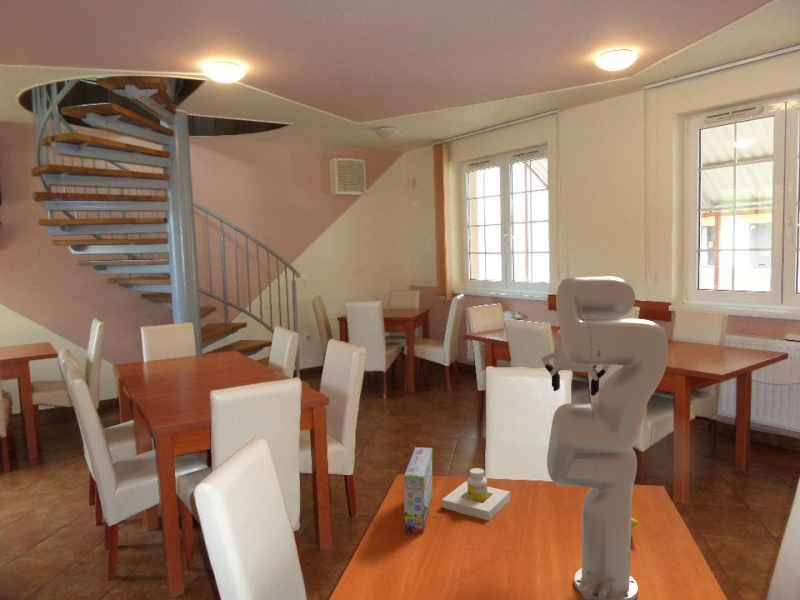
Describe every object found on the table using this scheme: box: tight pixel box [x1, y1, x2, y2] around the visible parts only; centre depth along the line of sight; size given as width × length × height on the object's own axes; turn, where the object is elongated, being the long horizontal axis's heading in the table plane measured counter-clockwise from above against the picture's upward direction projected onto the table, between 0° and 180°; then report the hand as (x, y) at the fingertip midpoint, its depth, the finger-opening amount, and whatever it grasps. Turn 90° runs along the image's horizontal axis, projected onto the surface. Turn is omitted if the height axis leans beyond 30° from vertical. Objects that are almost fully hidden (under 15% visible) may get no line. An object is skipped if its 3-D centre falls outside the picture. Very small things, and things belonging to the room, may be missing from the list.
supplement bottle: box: [467, 467, 488, 503], centre depth 160 cm, size 5×5×10 cm
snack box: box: [403, 447, 433, 534], centre depth 155 cm, size 21×6×15 cm, turn 171°
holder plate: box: [441, 481, 511, 521], centre depth 160 cm, size 14×14×2 cm
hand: (574, 392), depth 149 cm, fingers open, 9 cm apart
